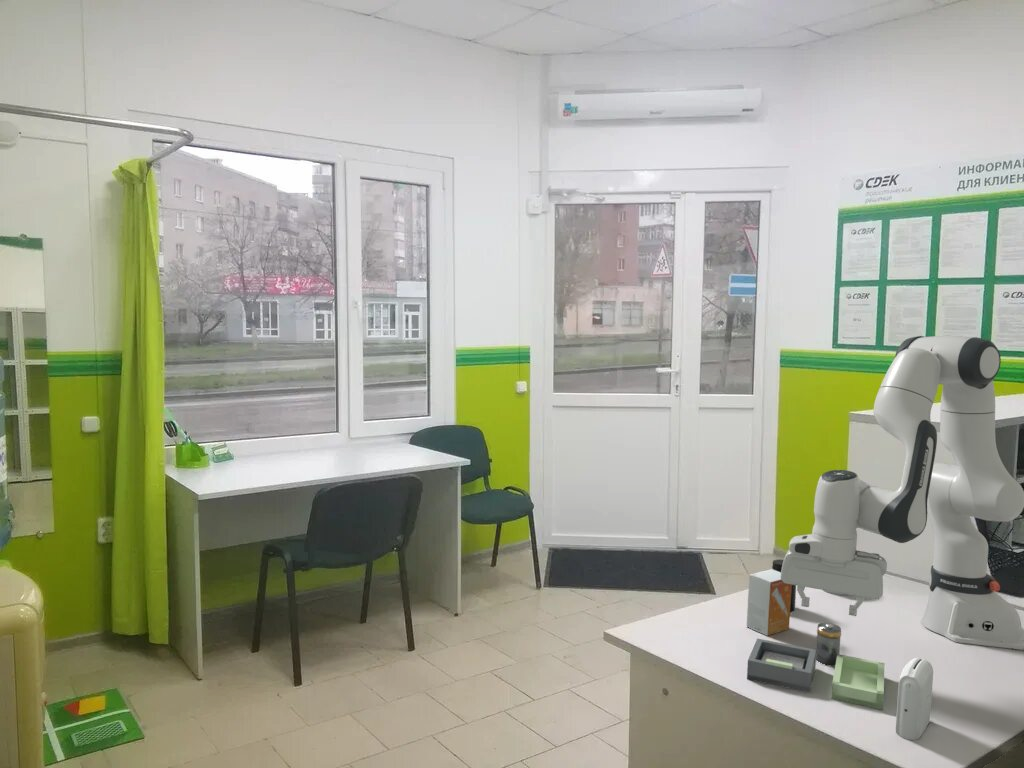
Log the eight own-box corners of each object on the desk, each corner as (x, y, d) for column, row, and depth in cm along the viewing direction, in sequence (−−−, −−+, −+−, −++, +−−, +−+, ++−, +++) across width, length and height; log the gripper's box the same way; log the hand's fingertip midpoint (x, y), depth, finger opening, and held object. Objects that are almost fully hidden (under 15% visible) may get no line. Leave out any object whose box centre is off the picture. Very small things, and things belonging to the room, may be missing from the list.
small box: (767, 636, 180) (770, 582, 179) (745, 627, 185) (748, 573, 184) (790, 629, 184) (793, 576, 183) (767, 620, 190) (770, 568, 188)
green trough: (883, 677, 161) (884, 663, 160) (882, 709, 147) (883, 694, 147) (836, 667, 165) (837, 653, 164) (831, 698, 151) (832, 683, 151)
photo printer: (918, 744, 136) (923, 675, 135) (892, 735, 139) (896, 668, 137) (932, 721, 144) (937, 656, 142) (907, 712, 146) (911, 649, 145)
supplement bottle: (771, 601, 202) (773, 556, 201) (798, 607, 198) (800, 561, 197) (762, 608, 197) (765, 562, 196) (790, 615, 193) (792, 568, 192)
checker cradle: (815, 668, 164) (816, 647, 164) (809, 692, 153) (810, 670, 153) (756, 656, 169) (757, 635, 169) (746, 679, 159) (748, 657, 158)
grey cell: (839, 659, 169) (842, 623, 168) (838, 667, 165) (840, 631, 164) (816, 654, 171) (818, 619, 170) (814, 663, 167) (816, 626, 166)
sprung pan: (804, 662, 163) (804, 658, 163) (800, 678, 156) (800, 674, 156) (764, 654, 167) (765, 650, 167) (759, 669, 159) (759, 665, 159)
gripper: (887, 551, 164) (882, 615, 165) (785, 536, 173) (781, 596, 174) (887, 559, 158) (882, 625, 159) (781, 543, 167) (777, 605, 168)
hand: (828, 610), depth 167 cm, fingers open, 8 cm apart
